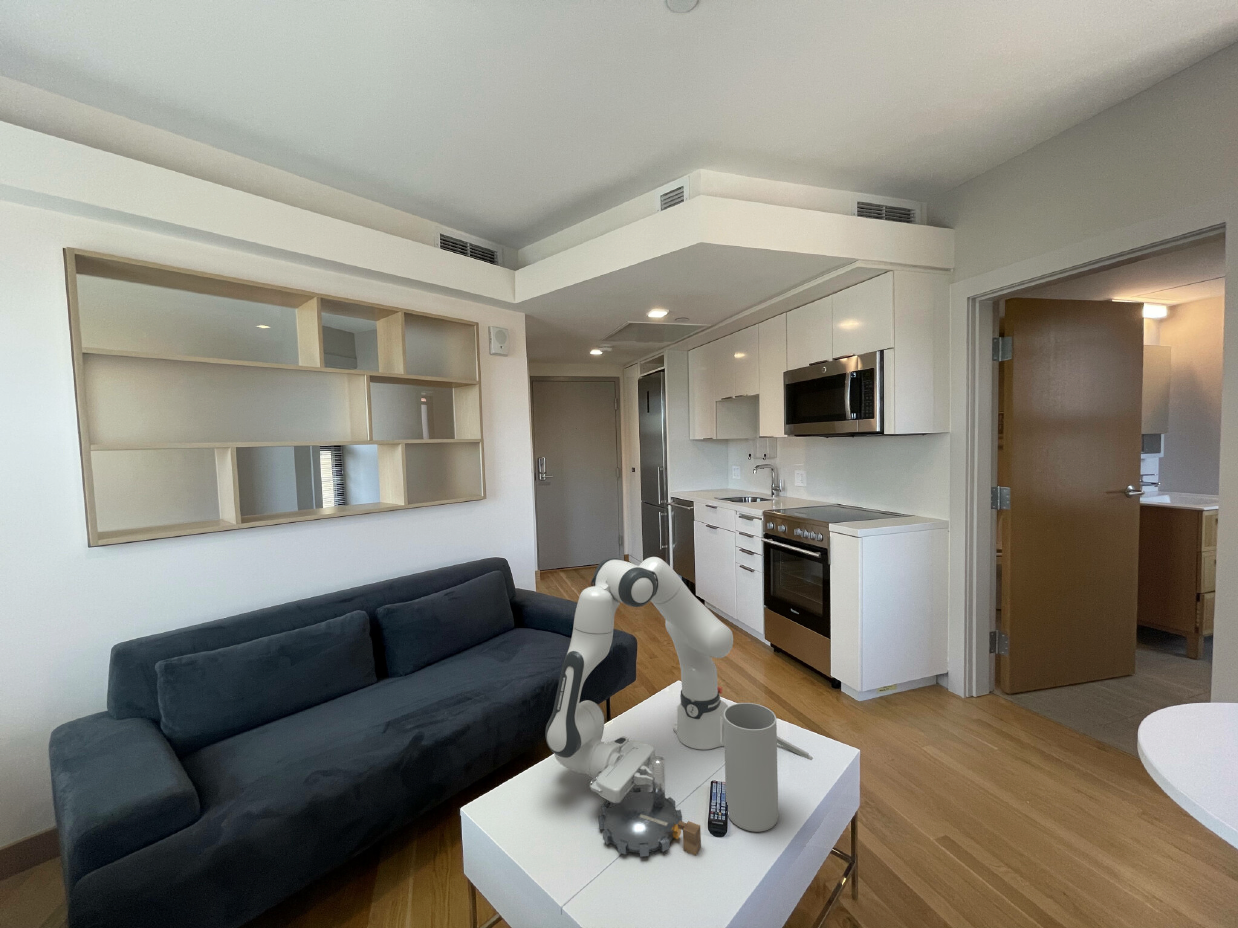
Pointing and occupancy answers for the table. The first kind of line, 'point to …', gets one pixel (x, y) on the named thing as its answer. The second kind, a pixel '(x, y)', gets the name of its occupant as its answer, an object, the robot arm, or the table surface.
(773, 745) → the cylinder vase
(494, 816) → the table surface
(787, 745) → the caliper
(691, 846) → the brown wooden block
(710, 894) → the table surface
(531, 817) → the table surface
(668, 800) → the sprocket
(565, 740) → the robot arm
